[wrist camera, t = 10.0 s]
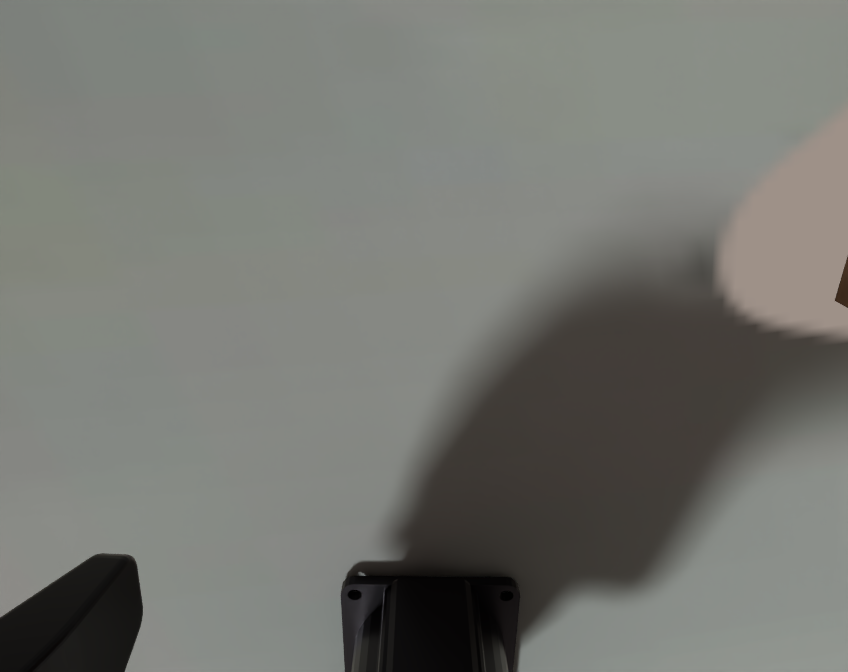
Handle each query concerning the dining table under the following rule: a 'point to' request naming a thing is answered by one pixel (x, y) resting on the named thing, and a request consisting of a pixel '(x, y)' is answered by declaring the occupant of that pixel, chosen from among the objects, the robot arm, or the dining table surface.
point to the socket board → (843, 287)
